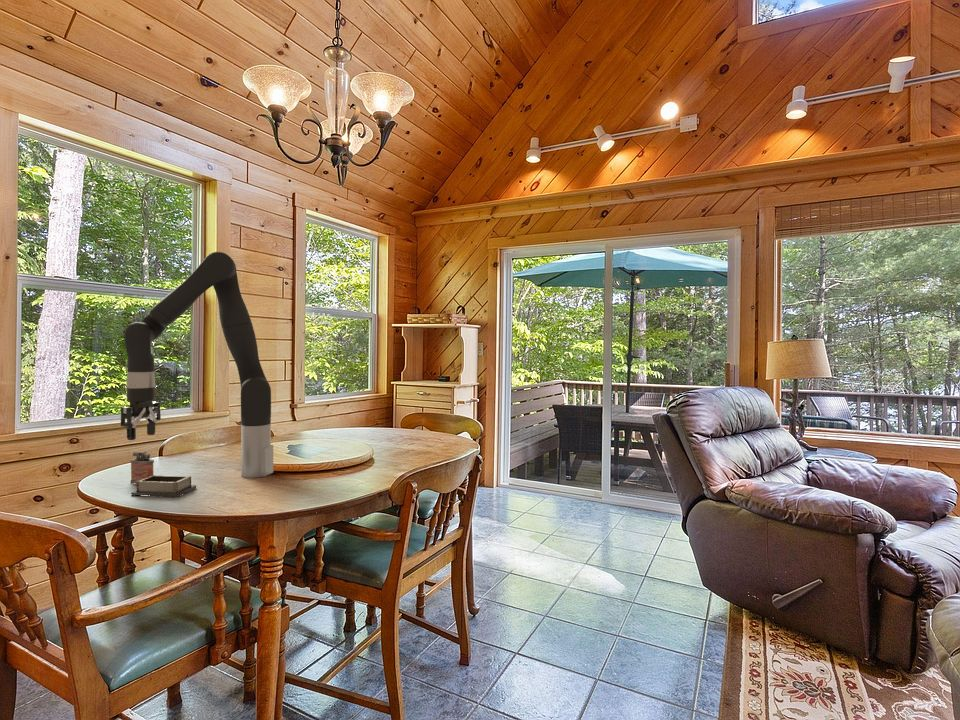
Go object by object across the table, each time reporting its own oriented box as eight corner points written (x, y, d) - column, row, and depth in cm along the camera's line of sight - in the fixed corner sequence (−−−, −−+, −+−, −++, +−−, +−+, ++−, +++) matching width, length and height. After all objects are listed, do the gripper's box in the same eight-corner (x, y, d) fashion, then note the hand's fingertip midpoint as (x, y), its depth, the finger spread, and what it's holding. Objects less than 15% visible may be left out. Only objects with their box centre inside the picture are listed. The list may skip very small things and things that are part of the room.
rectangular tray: (152, 487, 159) (152, 474, 159) (196, 488, 158) (196, 475, 158) (131, 495, 150) (130, 482, 150) (177, 497, 149) (176, 483, 149)
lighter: (157, 483, 163) (156, 451, 163) (147, 485, 160) (147, 454, 160) (137, 480, 165) (136, 450, 165) (127, 483, 162) (127, 452, 162)
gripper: (135, 388, 154) (136, 442, 155) (167, 384, 168) (168, 433, 169) (112, 387, 155) (112, 441, 155) (145, 383, 169) (146, 432, 169)
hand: (141, 437), depth 162 cm, fingers open, 8 cm apart
